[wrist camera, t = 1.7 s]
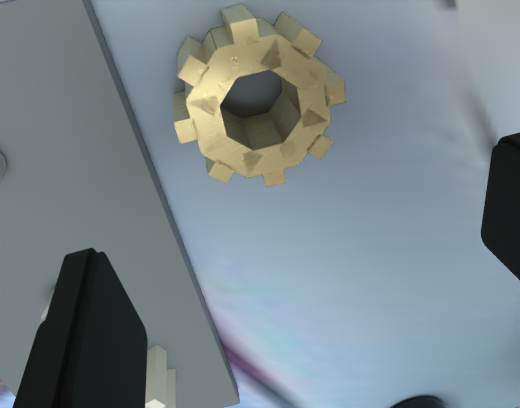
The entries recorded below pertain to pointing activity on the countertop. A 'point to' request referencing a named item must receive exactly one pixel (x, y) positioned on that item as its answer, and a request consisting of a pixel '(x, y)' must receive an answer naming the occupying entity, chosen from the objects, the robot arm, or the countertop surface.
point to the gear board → (90, 203)
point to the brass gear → (264, 125)
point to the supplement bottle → (422, 403)
